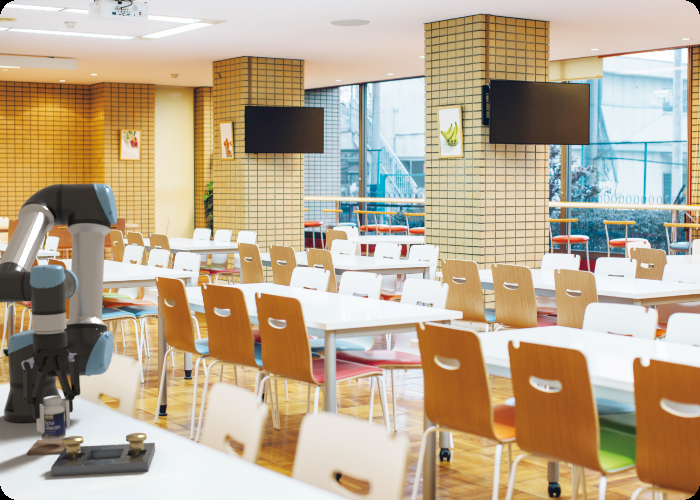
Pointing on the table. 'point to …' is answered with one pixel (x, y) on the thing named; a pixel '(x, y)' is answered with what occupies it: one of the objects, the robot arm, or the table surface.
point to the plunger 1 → (73, 446)
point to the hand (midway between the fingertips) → (53, 428)
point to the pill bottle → (54, 419)
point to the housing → (104, 460)
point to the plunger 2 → (136, 442)
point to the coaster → (46, 447)
